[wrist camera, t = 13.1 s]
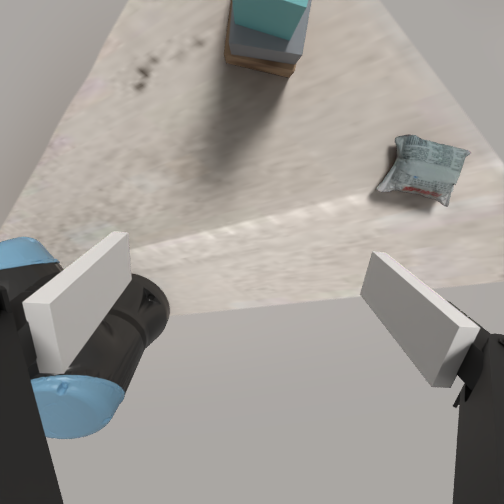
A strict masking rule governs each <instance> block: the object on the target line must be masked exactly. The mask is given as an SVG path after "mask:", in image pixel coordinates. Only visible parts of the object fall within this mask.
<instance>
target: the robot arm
mask: <svg viewBox="0 0 504 504" xmlns="http://www.w3.org/2000/svg"><path fill="white" fill-rule="evenodd" d="M59 263H60V262H59V261H58V260H57V259H54V258H53V256H52V255H51V254H50V253H49V252H48V251H47V250H46V249H45V247H44V246H43V245H42V244H41V243H40V242H39V241H37V240H36V239H33V238H30V237H18V238H13V239H10V240H6V241H2V242H0V504H63V500H62V496H61V492H60V489H59V485H58V481H57V477H56V474H55V470H54V466H53V463H52V459H51V455H50V451H49V448H48V444H47V440H46V437H48V438H57V439H73V438H80V437H84V436H88V435H91V434H93V433H96V432H97V431H99V430H101V429H102V428H103V427H105V426H106V425H107V424H108V423H109V422H110V420H111V419H112V417H113V415H114V413H115V412H116V410H117V408H118V406H119V404H120V403H121V402H122V401H123V399H124V395H125V393H126V391H127V388H128V386H129V384H130V381H131V379H132V377H133V375H134V372H135V370H136V368H137V365H138V363H139V361H140V358H141V356H142V354H143V352H144V350H145V348H147V347H148V346H149V345H150V344H151V343H152V342H153V341H154V340H155V339H156V338H157V337H158V336H159V335H160V334H161V333H162V332H163V330H164V328H165V326H166V324H167V321H168V319H169V314H170V308H169V303H168V300H167V298H166V296H165V294H164V293H163V291H162V290H161V289H160V288H159V287H158V286H157V285H156V284H154V283H153V282H152V281H150V280H148V279H147V278H145V277H142V276H139V275H136V274H131V262H130V247H129V233H128V232H116V231H113V232H112V233H110V234H109V235H108V236H106V237H105V238H104V239H103V240H101V241H100V242H99V243H97V244H96V245H95V246H94V247H92V248H91V249H90V250H89V251H87V252H86V253H85V254H83V255H82V256H81V257H80V258H78V259H77V260H76V261H74V262H73V263H72V264H71V265H69V266H68V267H67V268H65V269H63V268H62V267H61V265H60V264H59ZM360 295H361V296H362V297H363V299H364V300H365V301H366V303H367V304H368V305H369V306H370V308H371V309H372V310H373V312H374V313H375V314H376V315H377V317H378V318H379V319H380V321H381V322H382V323H383V325H384V326H385V327H386V329H387V330H388V331H389V332H390V334H391V335H392V336H393V338H394V339H395V340H396V341H397V343H398V344H399V345H400V346H401V348H402V349H403V351H404V352H405V353H406V354H407V356H408V357H409V358H410V360H411V361H412V362H413V363H414V365H415V366H416V367H417V369H418V370H419V371H420V373H421V374H422V375H423V376H424V378H425V379H426V380H427V382H428V383H429V384H430V385H431V387H445V388H451V386H452V384H453V382H454V380H455V378H456V376H457V375H458V376H459V377H460V378H461V379H462V380H463V382H464V383H465V384H464V386H463V387H462V389H461V391H460V393H459V395H458V397H457V399H456V401H455V403H454V405H453V407H455V408H456V407H457V406H458V405H460V406H459V420H458V435H457V449H456V464H455V478H454V492H453V504H504V335H502V334H490V333H489V332H488V331H486V330H485V329H484V328H482V327H481V326H480V325H479V324H477V323H476V322H475V321H474V320H472V319H471V318H470V317H467V315H466V314H465V313H463V312H462V311H460V310H459V309H458V308H457V307H456V306H454V305H453V304H452V303H451V302H449V301H447V300H445V299H444V298H442V297H441V296H440V295H439V294H437V293H436V292H435V291H433V290H432V289H431V288H430V287H428V286H427V285H426V284H425V283H423V282H422V281H421V280H420V279H418V278H417V277H416V276H415V275H413V274H412V273H411V272H410V271H408V270H407V269H406V268H404V267H403V266H402V265H401V264H399V263H398V262H397V261H396V260H394V259H393V258H392V257H391V256H389V255H388V254H387V253H386V252H373V251H372V254H371V258H370V261H369V265H368V268H367V272H366V275H365V279H364V282H363V286H362V289H361V293H360Z"/></svg>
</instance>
